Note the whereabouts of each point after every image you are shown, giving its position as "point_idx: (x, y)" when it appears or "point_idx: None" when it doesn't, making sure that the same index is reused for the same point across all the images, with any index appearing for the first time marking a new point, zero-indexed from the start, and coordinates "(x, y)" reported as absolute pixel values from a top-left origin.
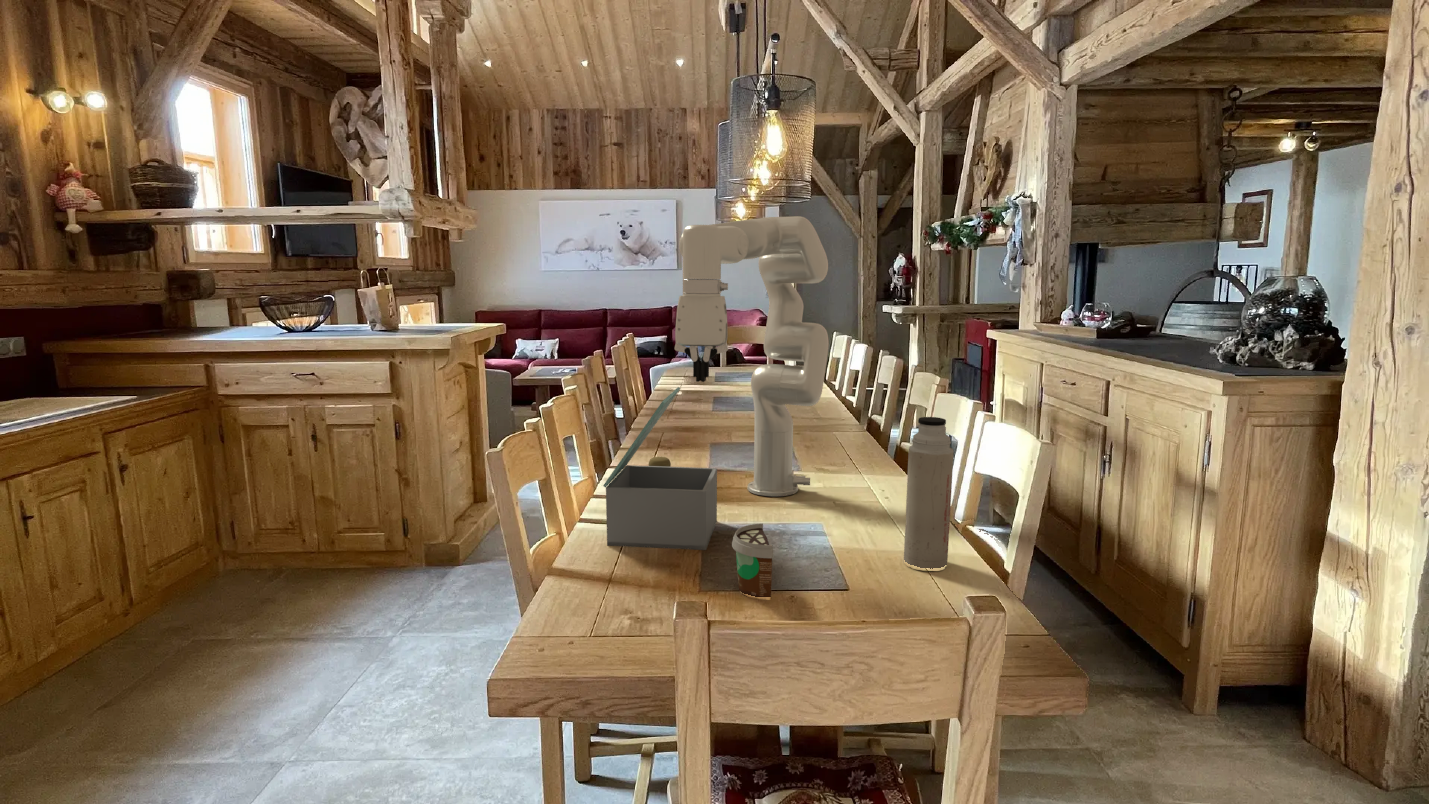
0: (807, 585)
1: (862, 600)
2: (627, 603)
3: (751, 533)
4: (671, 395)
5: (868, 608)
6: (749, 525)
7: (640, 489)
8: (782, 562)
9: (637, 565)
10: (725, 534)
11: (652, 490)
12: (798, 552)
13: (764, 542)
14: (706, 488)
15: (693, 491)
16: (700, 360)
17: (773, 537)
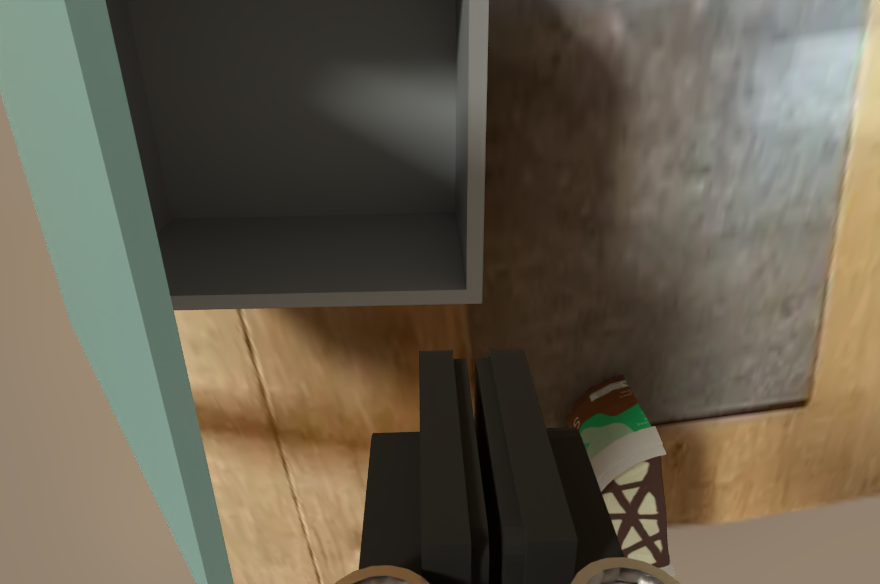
0: (720, 395)
1: (820, 444)
2: (350, 513)
3: (627, 485)
4: (171, 355)
5: (820, 472)
6: (626, 469)
7: (223, 308)
8: (681, 276)
9: (306, 345)
10: (514, 67)
11: (272, 306)
12: (737, 198)
13: (656, 533)
14: (479, 267)
15: (433, 304)
16: (467, 569)
17: (678, 74)
